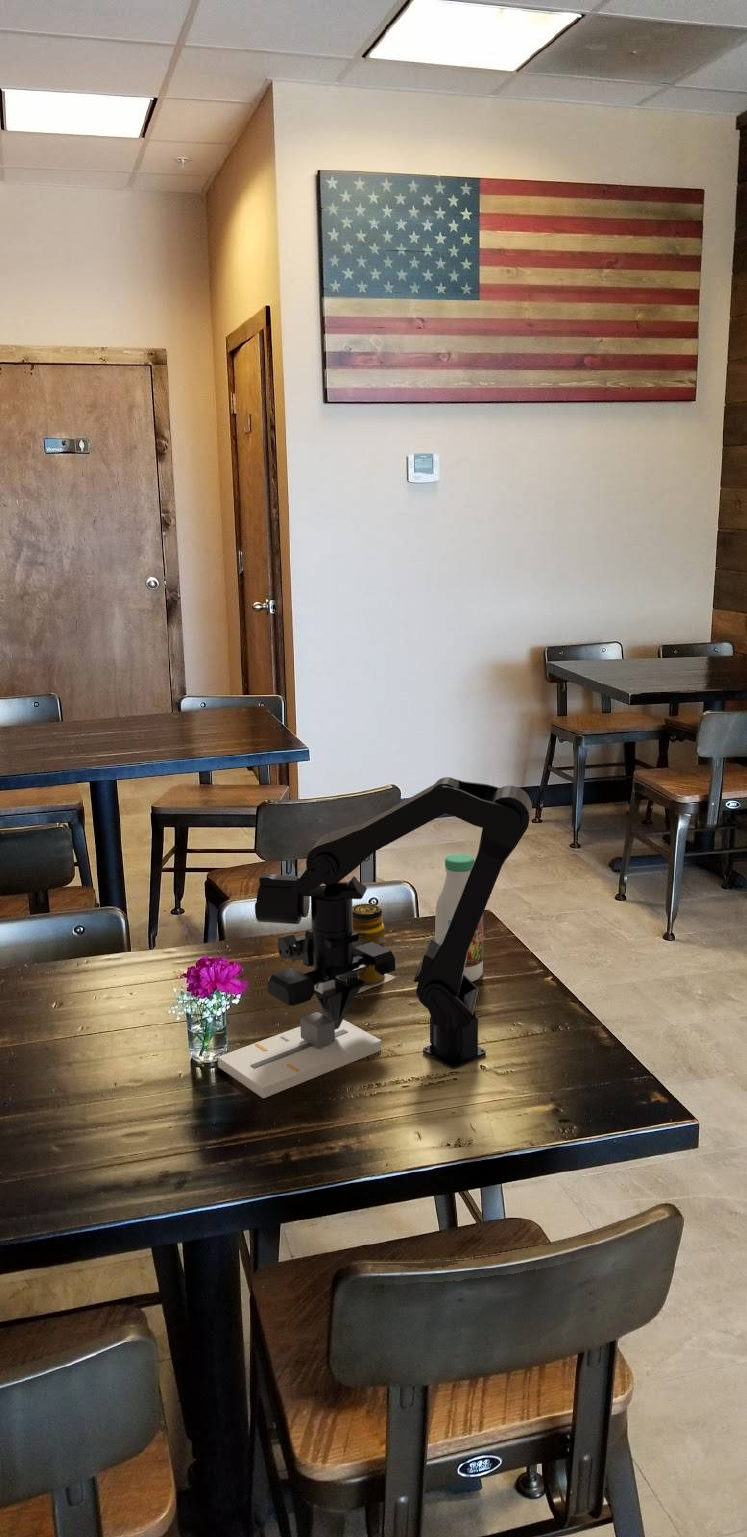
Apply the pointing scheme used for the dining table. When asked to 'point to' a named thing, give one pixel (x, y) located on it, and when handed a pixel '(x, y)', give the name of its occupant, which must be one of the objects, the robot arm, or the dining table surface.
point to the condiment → (369, 940)
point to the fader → (317, 1029)
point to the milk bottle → (446, 905)
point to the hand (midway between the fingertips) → (334, 1028)
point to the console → (295, 1058)
